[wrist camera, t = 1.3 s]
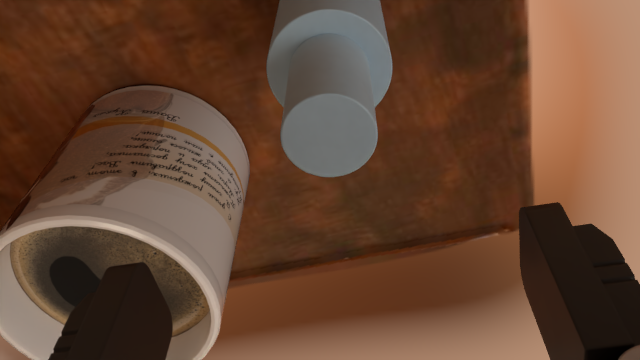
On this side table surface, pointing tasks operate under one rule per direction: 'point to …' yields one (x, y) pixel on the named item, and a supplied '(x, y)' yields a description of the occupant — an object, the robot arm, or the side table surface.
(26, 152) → the side table surface
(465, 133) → the side table surface
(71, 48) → the side table surface
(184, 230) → the mug
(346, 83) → the blue bottle
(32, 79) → the side table surface
